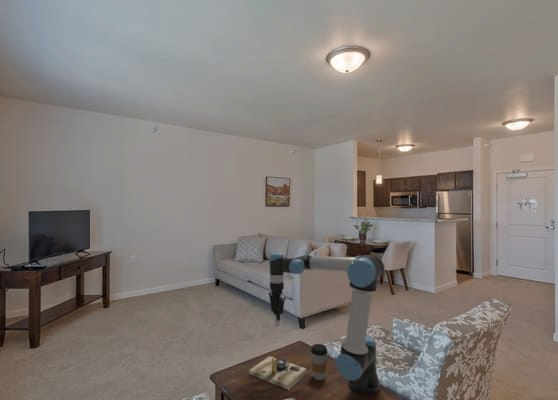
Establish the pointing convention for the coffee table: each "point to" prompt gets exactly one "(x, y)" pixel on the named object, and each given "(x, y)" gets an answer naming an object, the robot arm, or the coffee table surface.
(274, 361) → the grey round handled piece
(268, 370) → the lever board
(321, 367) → the coffee cup
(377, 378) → the robot arm
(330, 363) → the coffee table surface
